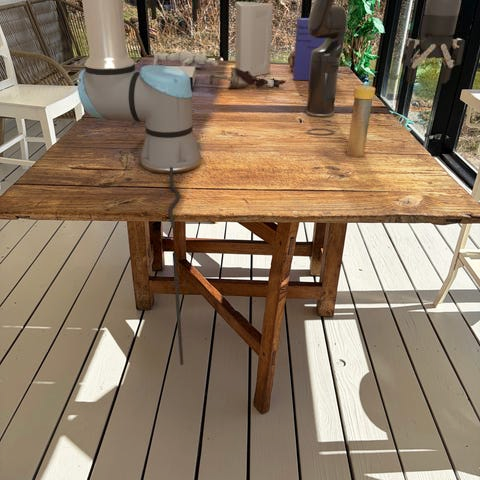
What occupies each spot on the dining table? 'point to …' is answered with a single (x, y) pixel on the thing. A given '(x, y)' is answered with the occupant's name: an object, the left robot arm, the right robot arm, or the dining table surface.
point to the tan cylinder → (359, 127)
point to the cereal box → (304, 49)
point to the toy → (183, 58)
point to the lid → (364, 92)
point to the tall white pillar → (253, 37)
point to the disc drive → (190, 71)
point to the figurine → (246, 79)
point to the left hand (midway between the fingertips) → (174, 20)
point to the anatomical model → (291, 60)
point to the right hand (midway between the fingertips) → (426, 83)
